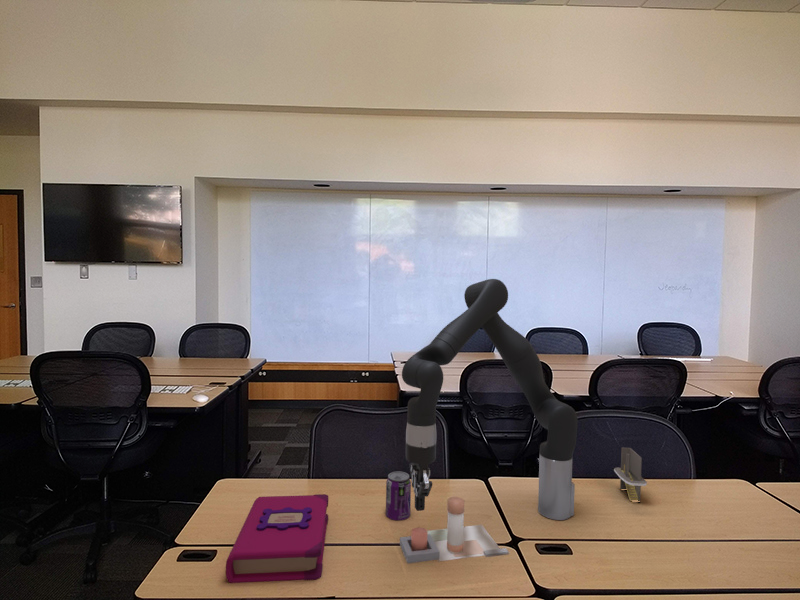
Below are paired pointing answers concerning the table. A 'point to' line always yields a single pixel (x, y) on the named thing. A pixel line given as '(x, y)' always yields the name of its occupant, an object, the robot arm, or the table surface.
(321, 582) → the table surface
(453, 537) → the marker
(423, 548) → the button
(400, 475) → the beverage can
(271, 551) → the book
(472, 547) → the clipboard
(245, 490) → the table surface
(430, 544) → the button housing
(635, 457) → the architectural model
